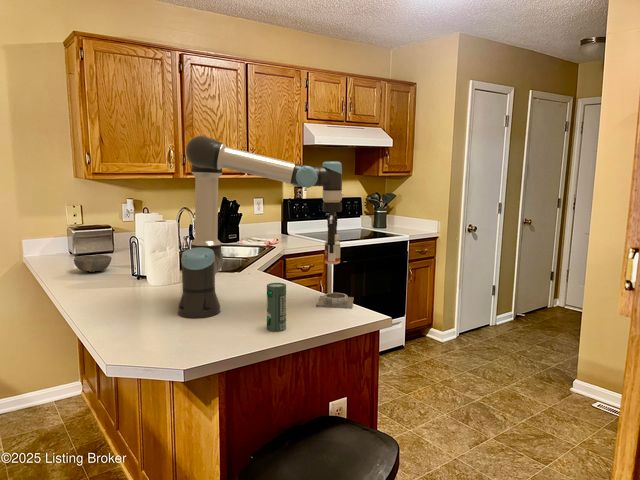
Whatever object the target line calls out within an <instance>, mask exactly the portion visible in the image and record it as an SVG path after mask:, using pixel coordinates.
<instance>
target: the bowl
mask: <svg viewBox="0 0 640 480" xmlns="http://www.w3.org/2000/svg"><path fill="white" fill-rule="evenodd" d="M73 262H74V263H73V264H74V265H75V267H76V268H77V269H79V270H80V271H82V272H87V271H89V272H88V273H96V272H95V271H100V272H102V271H101V270H103V271H104V269H105V270H106V269H108V268H109V266H110V264H111V262H112V256H111V255H107V254H96V255H77V256H74V258H73Z"/></svg>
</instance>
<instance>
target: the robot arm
mask: <svg viewBox="0 0 640 480" xmlns="http://www.w3.org/2000/svg"><path fill="white" fill-rule="evenodd" d="M185 155H186V158H187V160H188V162H189V163H190V165H191V166H190V167H191V168H190V169H191V174H192V175H193V176H194V178H195V179H194V180H195V185H194V187H195V193H194V194H195V195H194V198H195V200H194V201H195V205H194V206H195V208H194V209H195V210H194V213H195V215H194V216H195V217H194V226H195V227H194V229H195V230H194V231H195V232H194V233H195V235H194V236H195V238H194V239H193V240H192V241H191V243H190V248H188V249H185V250H184V251H183V252H182V254H181V261H180V263H181V277H182V278H181V279H182V280H181V283H182V286H181V287H182V294H181V297H180V301H179V304H178V308H177V310H178V313H177V314H178V316H180V317H183V318H190V319H201V318H202V319H203V318H209V317H214V316H216V315H218V314H220V312H221V305H220V301H219V298H218V295H217V293H216V274H217V273H218V272H219V271H220V270H221V268H222V267H223V263H224V256H223V253H222V242H221V241H220V240H219V239H218V232H219V231H218V223H219V222H218V220H219V218H218V217H219V212H218V211H219V178H220V177H221V175H223V169H227V170H230V171H236V172H240V173H244V174H248V175H253V176H256V177H260V178H266V179H269V180H274V181H279V182H282V183H286V184H291V185H292V186H293V187H298V188H299V187H301V188H305V189H309V188H311V187H322V200H323V202H322V211H323V212H325V213H328V215H327V217H326V220H327V235H328V243H326V245H328V261H335V234H337V235H338V233H337V232H338V231H337V230H338V229H337V228H338V219H339V217H338V215H337V213H340V212H342V211H343V202H342V200H343V197H342V196H344V192H343V164H342V163H341V162H340V161H324V162H322V165H321V166H310V165H303V164H299V163H295V162H293V161H288V160H283V159H279V158H275V157H270V156H267V155H263V154H258V153H254V152H250V151H245V150H241V149H237V148H233V147H229V146H227V145H226V143H225V142H220V141H218V140H217V139H214V138H212V137H208V136H205V135H197V136H194V137H193V138H191V139H190V140H189V141H188V142H187V144H186V147H185Z"/></svg>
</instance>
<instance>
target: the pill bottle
mask: <svg viewBox="0 0 640 480" xmlns="http://www.w3.org/2000/svg"><path fill="white" fill-rule="evenodd" d="M325 240H326V241H325V242H324V263H325V264H327V265H338V264H340V263H341V242H340V241H339V240H340V234H338V233H337V234H335V261H328V245H326V243H328V234H326V235H325Z"/></svg>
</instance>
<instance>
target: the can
mask: <svg viewBox="0 0 640 480" xmlns="http://www.w3.org/2000/svg"><path fill="white" fill-rule="evenodd" d="M286 329H287V284H286V283H283V282H270V283H268V284H266V330H268V331H269V332H273V333H275V332H277V333H279V332H282V331H285V330H286Z"/></svg>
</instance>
